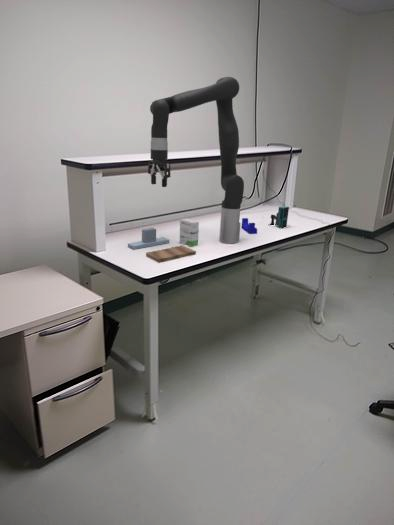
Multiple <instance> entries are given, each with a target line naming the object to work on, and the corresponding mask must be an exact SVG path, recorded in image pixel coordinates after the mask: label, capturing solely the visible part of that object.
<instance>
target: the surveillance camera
mask: <svg viewBox="0 0 394 525" xmlns="http://www.w3.org/2000/svg"><path fill="white" fill-rule="evenodd" d="M289 211H290V207H289V206H286V207H285V206H279V207H278V212H277V213H276V215H275V214H271V215H270V219H271V222H270V223H269V224H270V225H274V224H275V226H278V228H280V229H285V228H284V227H286V226H287V225H288V217H289ZM269 224H267V225H268V226H270V225H269ZM286 228H287V227H286Z"/></svg>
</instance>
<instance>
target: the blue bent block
mask: <svg viewBox="0 0 394 525" xmlns="http://www.w3.org/2000/svg"><path fill="white" fill-rule="evenodd" d="M241 229H242V230H243V231H244V232H246V233H247V234H249V235H256V234H258V228H257V227H256V223H255V222H249V218H248V217H242V219H241Z"/></svg>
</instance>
